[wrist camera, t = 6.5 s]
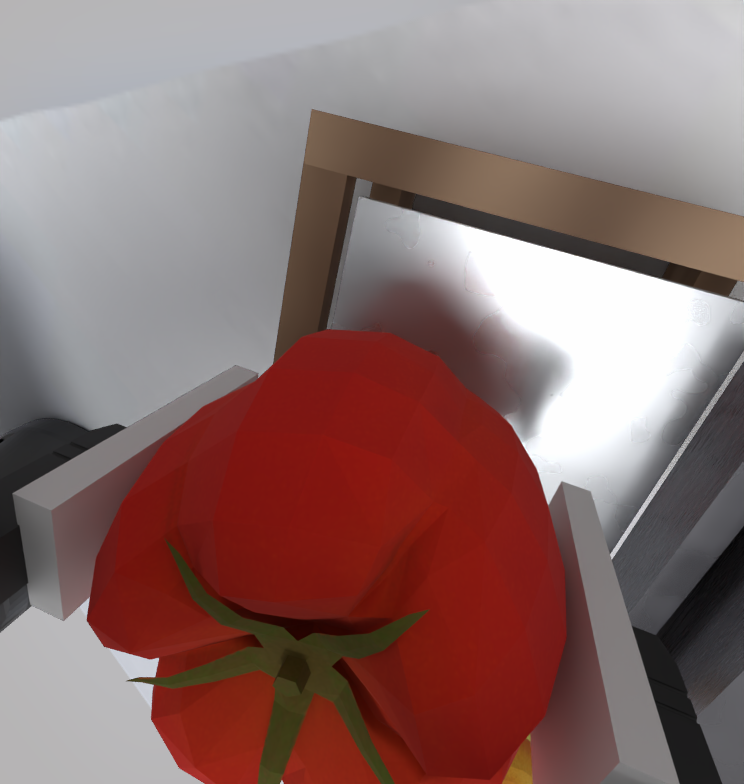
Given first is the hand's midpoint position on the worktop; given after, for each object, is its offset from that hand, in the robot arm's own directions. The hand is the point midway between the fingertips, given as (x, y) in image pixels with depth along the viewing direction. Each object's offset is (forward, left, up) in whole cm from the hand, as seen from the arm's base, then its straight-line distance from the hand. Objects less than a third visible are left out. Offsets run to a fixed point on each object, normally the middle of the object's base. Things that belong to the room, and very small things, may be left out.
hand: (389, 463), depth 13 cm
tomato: (0, 0, 0) cm, 0 cm away
